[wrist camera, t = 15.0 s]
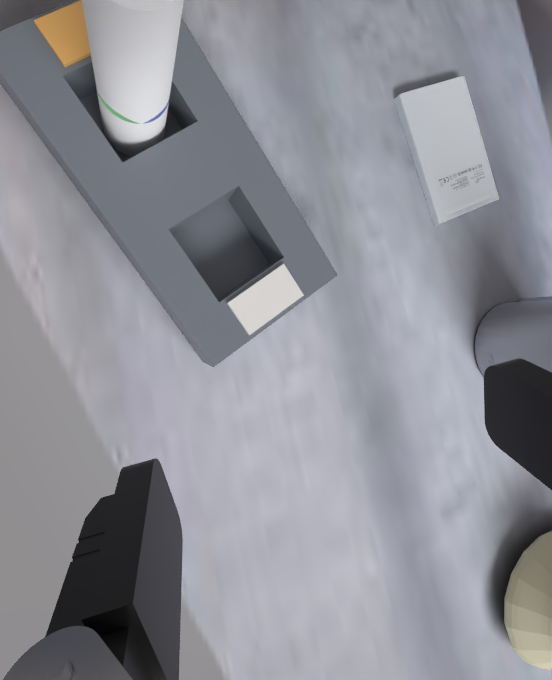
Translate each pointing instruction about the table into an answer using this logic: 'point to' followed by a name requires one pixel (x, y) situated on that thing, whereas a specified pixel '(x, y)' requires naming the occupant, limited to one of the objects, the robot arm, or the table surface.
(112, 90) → the tube
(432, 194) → the external hard drive
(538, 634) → the handbell
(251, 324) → the socket block
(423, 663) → the table surface
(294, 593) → the table surface
